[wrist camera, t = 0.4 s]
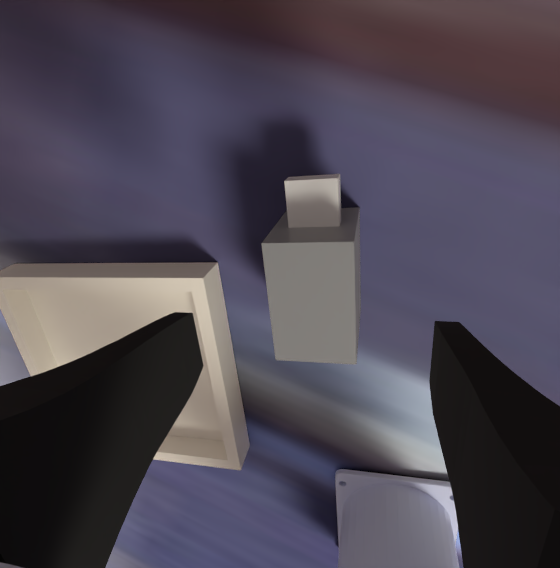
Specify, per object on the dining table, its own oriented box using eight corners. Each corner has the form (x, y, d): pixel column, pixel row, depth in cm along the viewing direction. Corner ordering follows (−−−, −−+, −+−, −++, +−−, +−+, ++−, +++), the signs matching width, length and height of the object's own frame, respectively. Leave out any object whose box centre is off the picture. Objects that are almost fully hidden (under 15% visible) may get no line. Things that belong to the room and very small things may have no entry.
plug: (361, 346, 22) (357, 408, 18) (299, 344, 23) (280, 402, 19) (359, 164, 18) (353, 187, 14) (283, 169, 19) (255, 192, 15)
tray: (249, 445, 28) (240, 470, 26) (81, 426, 31) (63, 447, 29) (217, 262, 22) (203, 278, 20) (14, 263, 25) (-14, 277, 23)
